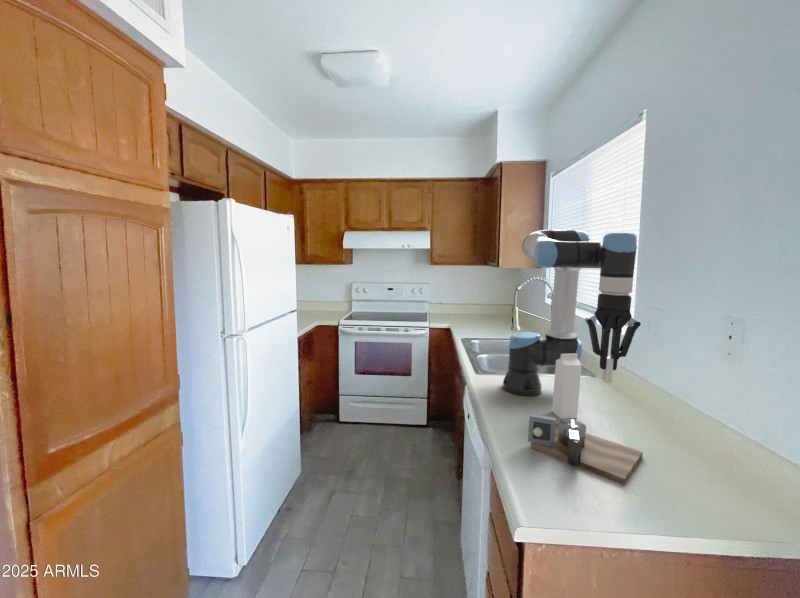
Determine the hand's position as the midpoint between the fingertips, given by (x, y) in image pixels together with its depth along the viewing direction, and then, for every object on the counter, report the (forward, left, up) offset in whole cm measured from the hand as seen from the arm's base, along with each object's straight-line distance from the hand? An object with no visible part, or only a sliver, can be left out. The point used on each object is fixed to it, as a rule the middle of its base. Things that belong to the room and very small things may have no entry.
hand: (606, 380), depth 101 cm
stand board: (-1, -4, -22) cm, 23 cm away
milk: (-22, -18, -23) cm, 36 cm away
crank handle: (+4, -6, -21) cm, 22 cm away
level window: (+6, -14, -21) cm, 26 cm away
